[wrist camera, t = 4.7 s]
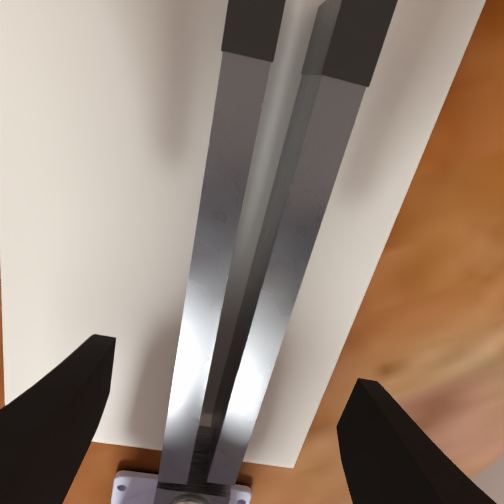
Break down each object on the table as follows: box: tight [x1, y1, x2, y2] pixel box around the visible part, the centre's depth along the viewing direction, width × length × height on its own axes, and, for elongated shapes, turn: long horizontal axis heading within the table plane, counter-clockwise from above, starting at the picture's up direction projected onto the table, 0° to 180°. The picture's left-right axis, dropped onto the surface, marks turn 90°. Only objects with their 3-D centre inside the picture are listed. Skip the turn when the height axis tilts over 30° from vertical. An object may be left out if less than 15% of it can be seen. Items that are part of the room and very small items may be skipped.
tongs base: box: [153, 0, 398, 504], centre depth 15 cm, size 21×3×4 cm, turn 167°
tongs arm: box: [157, 0, 286, 485], centre depth 14 cm, size 18×1×4 cm, turn 169°
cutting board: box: [0, 0, 486, 468], centre depth 16 cm, size 24×15×1 cm, turn 167°
